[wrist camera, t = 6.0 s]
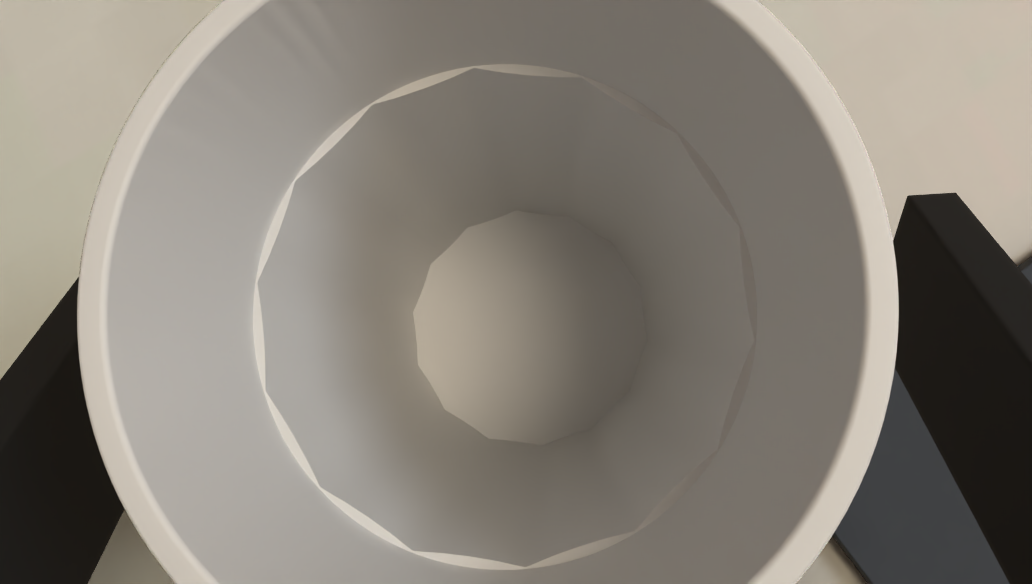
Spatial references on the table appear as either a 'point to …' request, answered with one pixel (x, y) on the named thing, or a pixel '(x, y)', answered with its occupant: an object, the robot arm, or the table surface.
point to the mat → (914, 508)
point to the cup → (488, 296)
